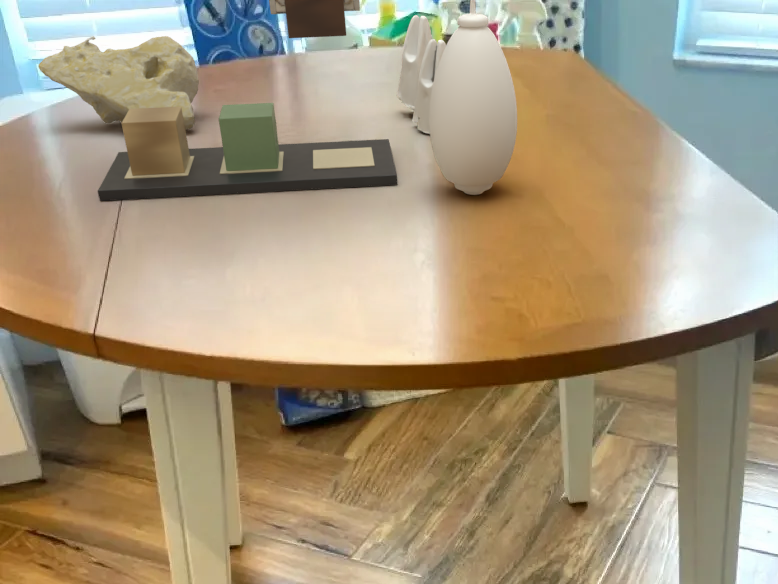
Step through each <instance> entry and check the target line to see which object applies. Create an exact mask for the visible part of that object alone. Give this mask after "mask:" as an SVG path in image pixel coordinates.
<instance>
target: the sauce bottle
mask: <svg viewBox="0 0 778 584" xmlns="http://www.w3.org/2000/svg"><path fill="white" fill-rule="evenodd" d="M456 24H457V26H458V27H457V28H456V29H455V30H454V32H453V33H452V35H451V36H450V38H449V39H448V41H447V43H446V47H445V49H444V52H443V54H442V57H441V59H440V62H439V65H438V68H437V72H436V75H435V79H434V83H433V88H432V93H431V101H430V114H429V124H430V134H429V136H430V143H431V148H432V152H433V155H434V159H435V162H436V164H437V166H438V168H439V170H440V172H441V174H442V175H443V177H444V178H445V180H446V181H448V182H449V183H453V184H454V188H455V189H456V190H459V191H462V192H463V193H464V194H467V195H471V196H478V195H481V194H483V193H484V192H485V191H488V190H490V189H491V188H492V187H493V185H494V183H496V182H497V181H498V182H499V181H500V180H501V179H502V178H503V177H504V174H505V173H506V171H507V169H508V167H509V165H510V161H511V160H512V156H513V153H514V150H515V146H516V141H517V133H518V106H517V105H518V104H517V98H516V97H517V96H516V90H515V86H514V81H513V77H512V74H511V70H510V67H509V64H508V60H507V58H506V56H505V52H504V51H503V49H502V46H501V44H500V42H499V41H498V38H497V36H496V35H495V33H494V32H493V31H492V30H491V29H490V28H489V26H488V25H489V18H488V16H487V15H485V14H483V13H477V5H476V0H469V13H464V14H461V15H459V17H458V18H457V21H456Z"/></svg>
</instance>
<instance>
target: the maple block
mask: <svg viewBox="0 0 778 584" xmlns="http://www.w3.org/2000/svg"><path fill="white" fill-rule="evenodd" d="M120 123H121V122H120ZM121 127H122V133H123V137H124V142H125V147H126V152H128V157H129V162H130V167H131V172H132V175H150V174H170V173H185V170H186V167H187V164H188V161H189V158H190V154H189V149H190V148H189V143H188V137H187V130H185V125H184V119H183V113H182V107H160V108H138V109H129V111H128V113H127V114H126V116H125V118H124V119H123V121H122V123H121Z"/></svg>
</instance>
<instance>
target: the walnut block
mask: <svg viewBox="0 0 778 584" xmlns="http://www.w3.org/2000/svg"><path fill="white" fill-rule="evenodd" d="M284 1H285V10H286V14H285V18H286V27H287V35H288V39H307V38H308V39H309V38H328V37H346V36H347V26H346V25H347V24H346V14H345V12H346V11H344V0H284Z"/></svg>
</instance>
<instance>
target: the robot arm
mask: <svg viewBox="0 0 778 584" xmlns="http://www.w3.org/2000/svg"><path fill="white" fill-rule="evenodd" d="M268 3H269V10H270V15H282V14H283V15H286V10H285V1H284V0H268ZM359 11H361V4H360V0H344V12H359Z"/></svg>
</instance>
